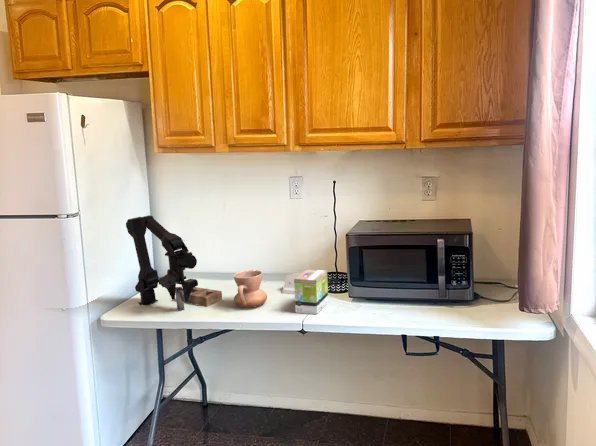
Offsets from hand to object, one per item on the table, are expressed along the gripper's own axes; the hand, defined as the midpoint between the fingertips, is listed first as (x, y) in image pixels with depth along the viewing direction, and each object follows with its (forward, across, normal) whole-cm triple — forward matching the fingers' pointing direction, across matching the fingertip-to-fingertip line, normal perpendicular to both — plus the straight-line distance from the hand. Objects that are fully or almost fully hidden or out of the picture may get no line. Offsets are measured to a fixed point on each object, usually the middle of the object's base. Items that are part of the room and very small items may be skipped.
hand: (180, 300), depth 236 cm
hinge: (+4, +36, +41) cm, 55 cm away
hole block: (+4, -1, +13) cm, 14 cm away
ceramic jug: (+4, +25, +17) cm, 31 cm away
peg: (+4, 0, 0) cm, 4 cm away
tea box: (+4, +52, +25) cm, 58 cm away
